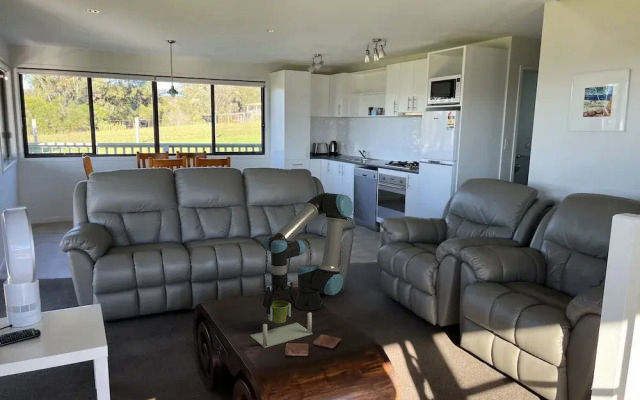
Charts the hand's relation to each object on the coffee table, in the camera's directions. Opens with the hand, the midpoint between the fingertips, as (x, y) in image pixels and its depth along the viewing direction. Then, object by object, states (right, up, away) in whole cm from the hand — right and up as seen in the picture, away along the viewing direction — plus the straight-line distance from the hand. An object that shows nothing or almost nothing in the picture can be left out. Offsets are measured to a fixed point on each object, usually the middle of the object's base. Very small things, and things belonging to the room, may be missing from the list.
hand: (279, 317), depth 219 cm
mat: (+1, -8, 0) cm, 8 cm away
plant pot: (0, -2, 0) cm, 2 cm away
